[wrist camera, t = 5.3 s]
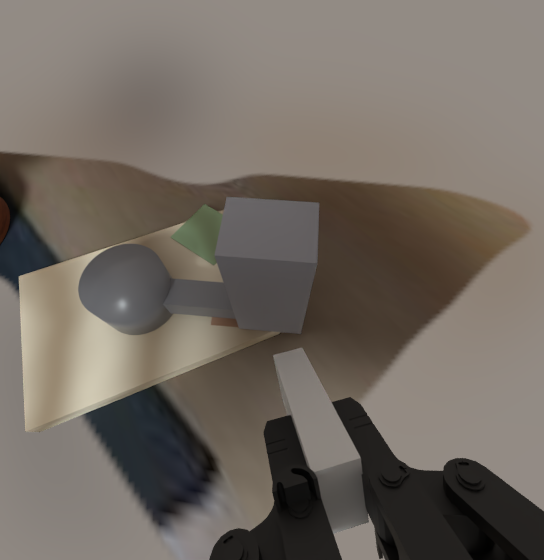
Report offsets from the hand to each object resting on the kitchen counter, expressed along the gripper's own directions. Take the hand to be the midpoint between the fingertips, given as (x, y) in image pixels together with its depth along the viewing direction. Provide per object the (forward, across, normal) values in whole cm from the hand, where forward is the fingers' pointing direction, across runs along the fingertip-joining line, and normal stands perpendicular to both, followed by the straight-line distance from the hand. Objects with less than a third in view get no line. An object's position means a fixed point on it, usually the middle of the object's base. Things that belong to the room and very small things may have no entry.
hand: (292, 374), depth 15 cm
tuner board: (+9, -8, +2) cm, 13 cm away
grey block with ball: (+7, -4, +2) cm, 9 cm away
